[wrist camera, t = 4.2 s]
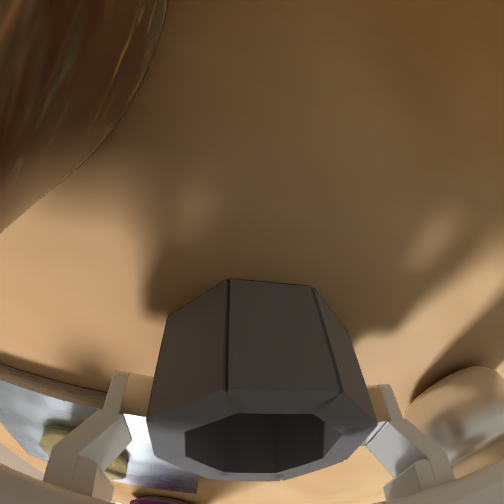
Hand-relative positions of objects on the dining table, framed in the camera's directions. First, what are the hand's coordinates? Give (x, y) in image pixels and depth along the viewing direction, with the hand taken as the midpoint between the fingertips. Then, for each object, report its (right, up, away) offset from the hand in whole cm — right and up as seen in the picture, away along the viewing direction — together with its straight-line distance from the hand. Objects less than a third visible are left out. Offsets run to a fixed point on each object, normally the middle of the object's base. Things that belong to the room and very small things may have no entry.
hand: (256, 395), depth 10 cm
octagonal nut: (0, +1, +1) cm, 2 cm away
